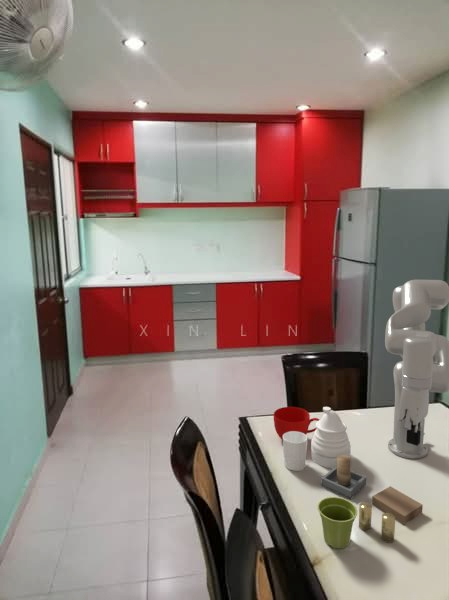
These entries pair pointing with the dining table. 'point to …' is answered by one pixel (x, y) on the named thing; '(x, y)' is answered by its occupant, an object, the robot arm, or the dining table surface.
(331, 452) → the honey pot
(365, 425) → the dining table surface
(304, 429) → the ceramic cup
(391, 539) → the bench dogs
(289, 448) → the white cup
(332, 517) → the plant pot
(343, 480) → the dowel
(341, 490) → the tray
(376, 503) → the brown wooden brick
